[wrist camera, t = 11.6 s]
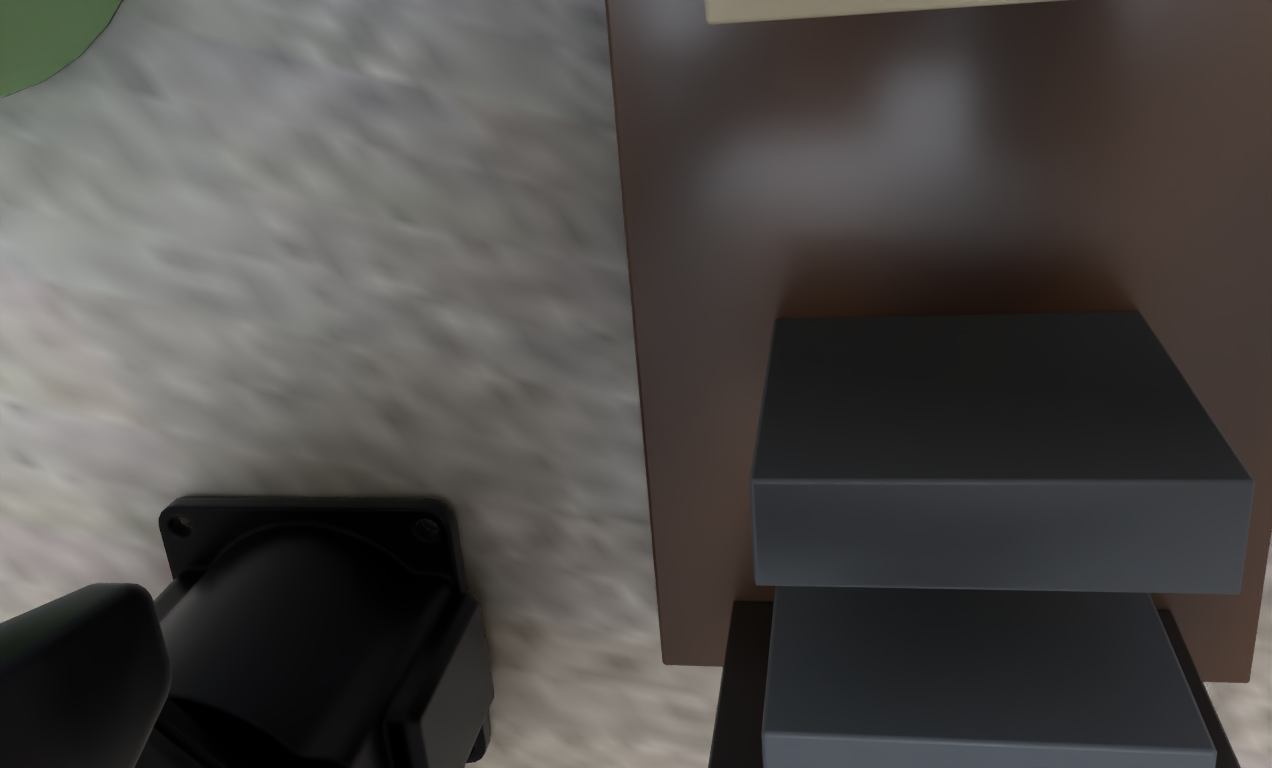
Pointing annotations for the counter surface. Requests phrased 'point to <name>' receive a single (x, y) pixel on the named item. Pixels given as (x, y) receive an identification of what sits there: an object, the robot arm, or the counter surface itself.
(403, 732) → the robot arm
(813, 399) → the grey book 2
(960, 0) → the cream book
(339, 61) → the counter surface
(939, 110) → the book rack
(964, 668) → the grey book
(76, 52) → the mug
